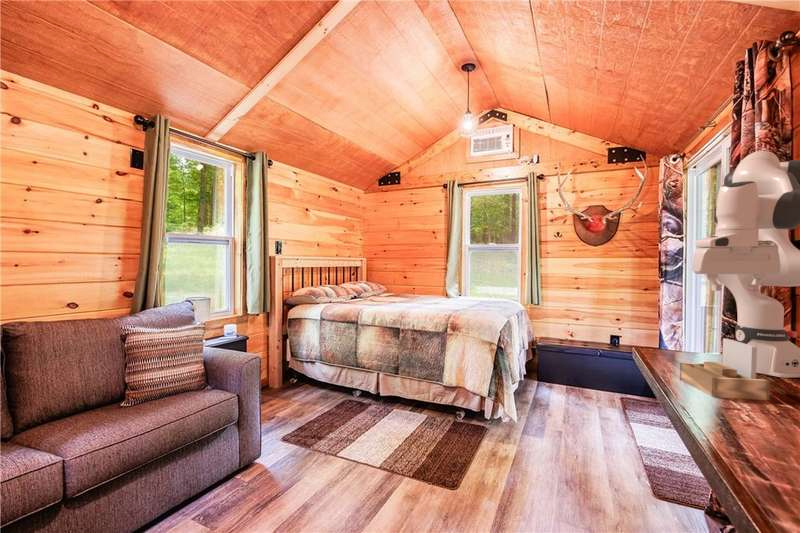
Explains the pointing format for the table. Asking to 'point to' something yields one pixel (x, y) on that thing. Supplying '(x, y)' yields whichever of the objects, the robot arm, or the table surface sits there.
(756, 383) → the rack
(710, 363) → the offcut top
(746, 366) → the sheet
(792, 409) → the table surface
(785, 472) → the table surface
